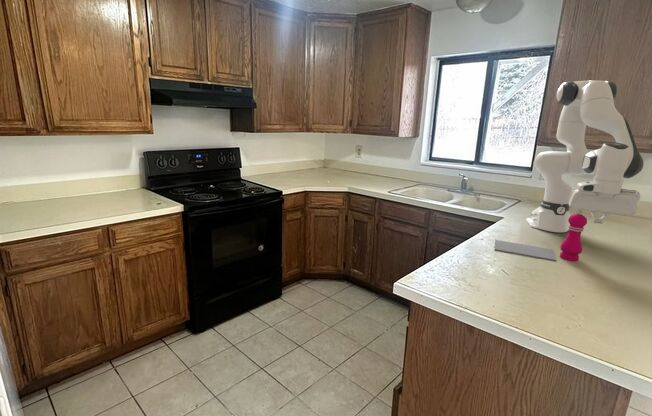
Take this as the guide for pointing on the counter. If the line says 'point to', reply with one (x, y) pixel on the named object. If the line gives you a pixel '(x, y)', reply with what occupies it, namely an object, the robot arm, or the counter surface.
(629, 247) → the counter surface
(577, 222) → the pepper mill
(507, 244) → the mat
